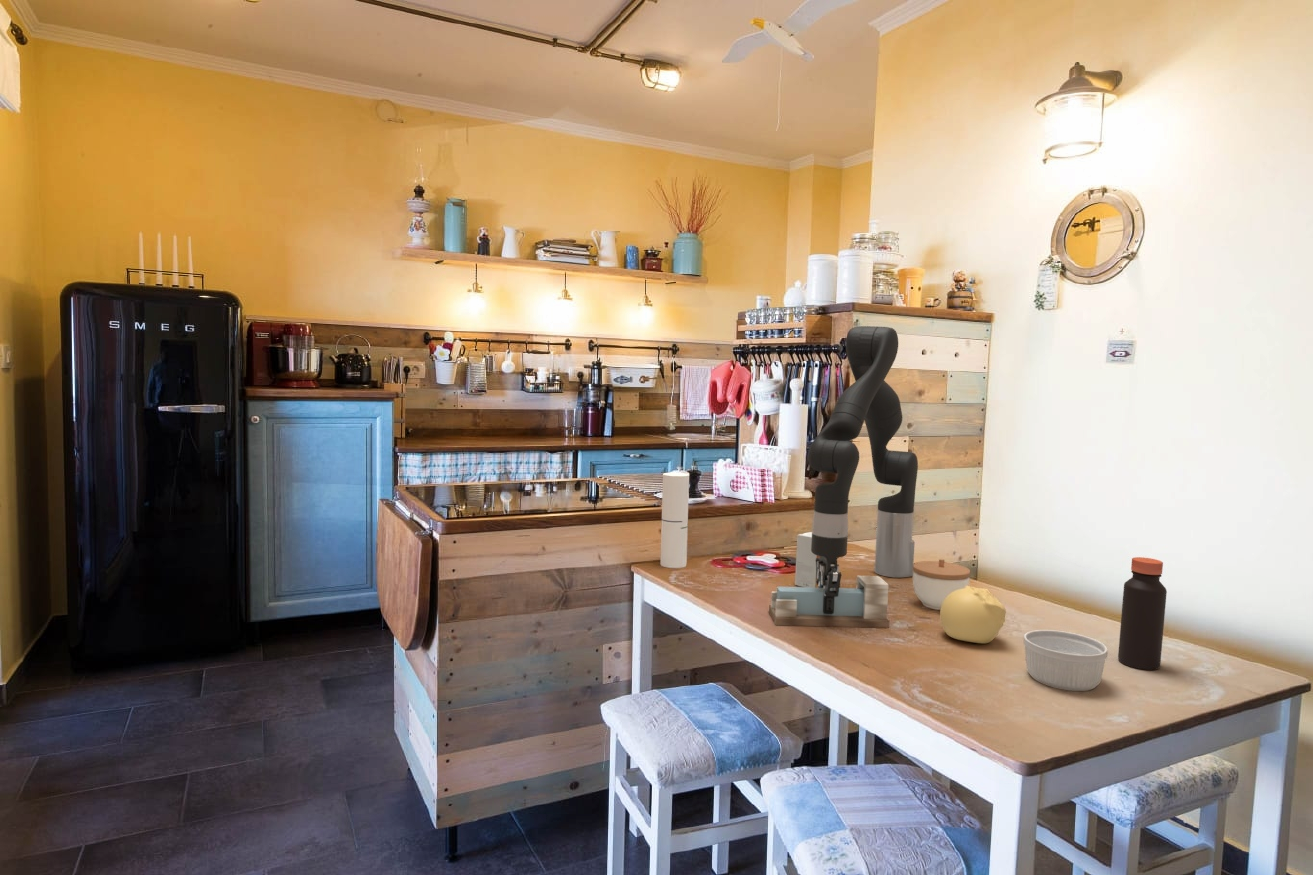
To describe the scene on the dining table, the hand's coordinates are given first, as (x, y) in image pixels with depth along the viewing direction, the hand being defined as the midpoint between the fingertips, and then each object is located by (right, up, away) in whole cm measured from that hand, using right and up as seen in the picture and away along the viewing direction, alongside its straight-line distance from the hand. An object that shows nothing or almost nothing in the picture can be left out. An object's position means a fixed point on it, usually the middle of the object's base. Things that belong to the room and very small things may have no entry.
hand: (825, 610), depth 165 cm
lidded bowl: (+29, -2, +12) cm, 32 cm away
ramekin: (+36, -6, -29) cm, 47 cm away
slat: (-1, -1, 0) cm, 1 cm away
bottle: (+55, -6, -21) cm, 59 cm away
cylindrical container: (-32, +2, +43) cm, 54 cm away
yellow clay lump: (+27, -4, -9) cm, 29 cm away
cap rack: (0, -2, 0) cm, 2 cm away
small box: (+3, 0, +27) cm, 27 cm away
